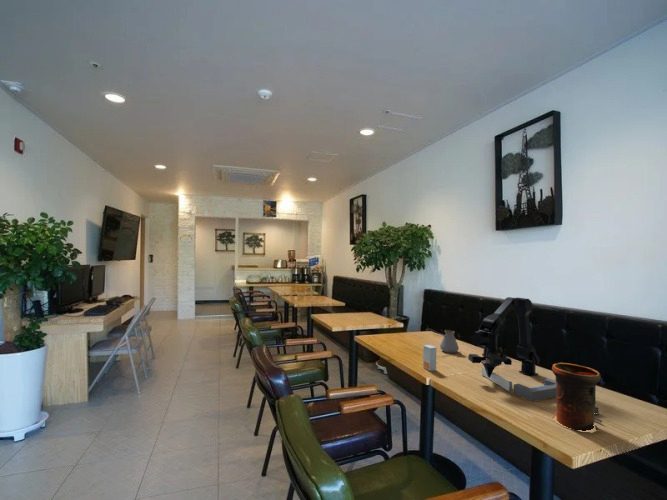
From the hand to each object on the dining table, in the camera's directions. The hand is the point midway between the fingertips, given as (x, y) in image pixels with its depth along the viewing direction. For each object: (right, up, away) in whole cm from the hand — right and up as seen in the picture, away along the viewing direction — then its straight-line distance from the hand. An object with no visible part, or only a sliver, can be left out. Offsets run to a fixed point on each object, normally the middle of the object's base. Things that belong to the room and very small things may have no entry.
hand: (488, 377), depth 164 cm
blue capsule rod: (+16, -2, -13) cm, 21 cm away
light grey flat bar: (+2, -2, -2) cm, 4 cm away
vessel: (+12, -2, -41) cm, 43 cm away
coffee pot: (-6, -3, +52) cm, 52 cm away
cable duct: (+16, -2, -14) cm, 22 cm away
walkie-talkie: (+23, -3, -31) cm, 39 cm away
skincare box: (-24, -2, +16) cm, 29 cm away
